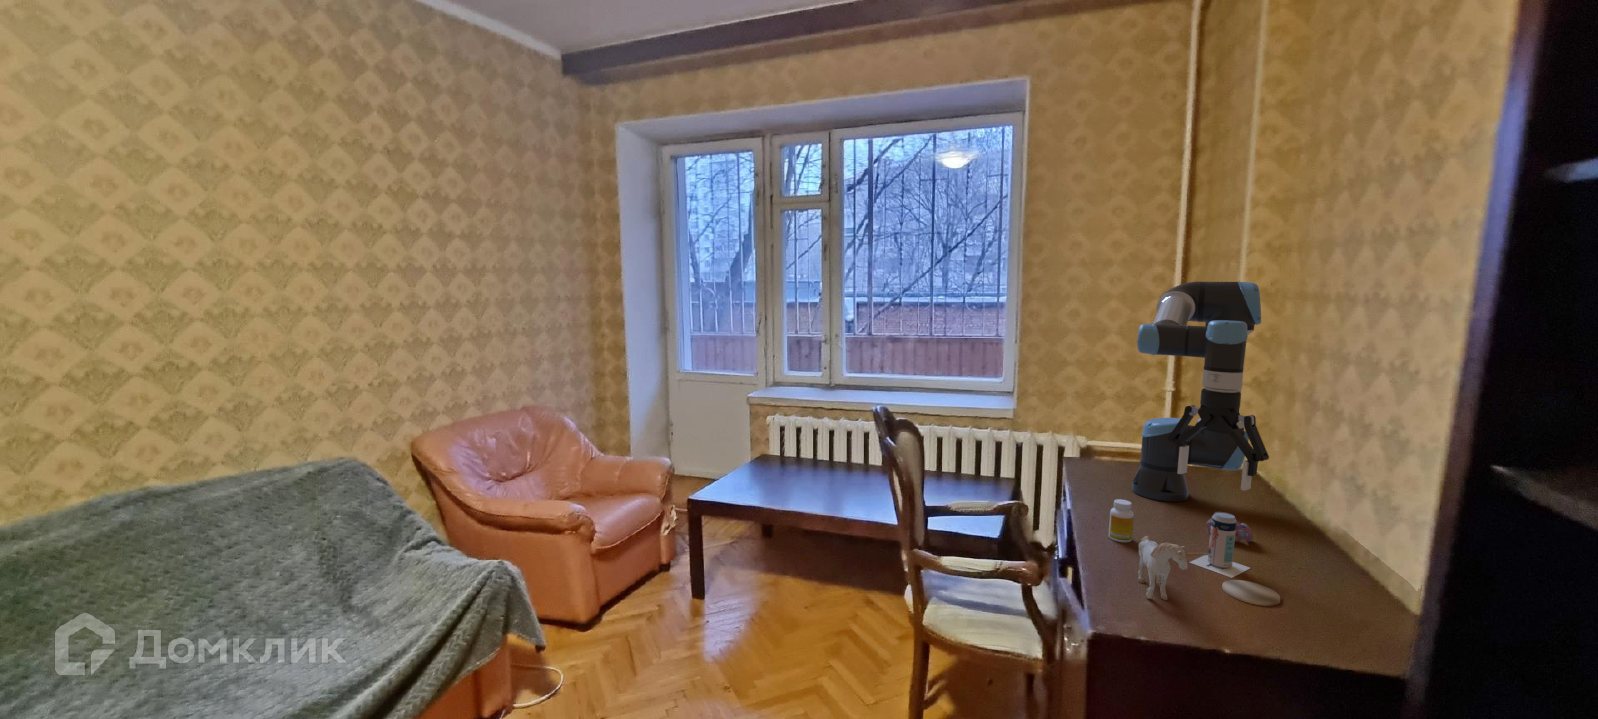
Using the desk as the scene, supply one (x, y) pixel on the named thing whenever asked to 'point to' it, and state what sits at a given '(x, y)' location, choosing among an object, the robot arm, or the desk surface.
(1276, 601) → the cork coaster
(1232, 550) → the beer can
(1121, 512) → the supplement bottle
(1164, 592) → the unicorn figurine
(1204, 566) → the tile
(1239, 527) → the video game controller
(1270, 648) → the desk surface
